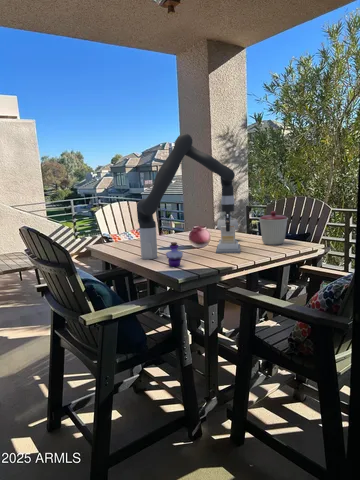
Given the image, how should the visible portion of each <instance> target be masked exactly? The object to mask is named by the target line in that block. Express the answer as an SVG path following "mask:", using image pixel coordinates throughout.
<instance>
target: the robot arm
mask: <svg viewBox="0 0 360 480" xmlns="http://www.w3.org/2000/svg"><path fill="white" fill-rule="evenodd" d="M173 145H174V146H173V148H172V149H171V152H170V154H169V155H168V156H167V157H166V159H165V160H164V161H163V163H162V164H161V166H160V167H159V169H158V171H157V172H156V174H155V177H154V182H153V185H152V189H151V190H150V192H149V194H148V196H146V198H141V199H140V200H138V202H137V204H136V215H137V223H138V225H139V240H140V255H141V256H140V257H141V259H142V260H153V259H157V258H158V243H157V242H158V241H157V222H156V221H155V219H154V214H156V212H157V210H158V208H159V205H160V203H161V201H162V199H163V196H164V194H165V193H166V191H167V190H168V188H169V186H171V185H170V184H171V183H172V181H173V179H174V178H175V176H176V174H177V172H178V170H179V168H180V165H181V162H182V161H183V159H184V157H185V156H186V157H188V158H190V159H192V160H194V161H196V162H197V163H198V164H200V165H202V166H203V167H204V168H206V169H207V170H209V171H211V173H213V174H216V175H218V176H219V177H220V185H221V212H223V213H225V214H224V218H225V222H226V223H225V225H226V232H229V231H230V223H231V218H232V214H231V213H232V212H235V193H234V192H235V189H234V185H233V180H234V178H235V176H236V175H235V171H234V170H233V169H232V168H231V167H228V166H227V165H225V164H223V163H221V162H220V161H219V160H218V159H216V158H215V157H213V156H212V155H210V154H208V153H205V152H203V151H200V150H199V149H197V148H195V147H194V145H193V138H192V136H191V135H190V134H188V133H181V134H180V135H178V136H177V137H176V139H175V141H174V144H173Z"/></svg>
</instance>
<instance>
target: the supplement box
mask: <svg viewBox="0 0 360 480" xmlns="http://www.w3.org/2000/svg"><path fill="white" fill-rule="evenodd" d="M220 239H221V244H235V239H236V230H235V226H230V231H229V232H226V226H221V230H220Z"/></svg>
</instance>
